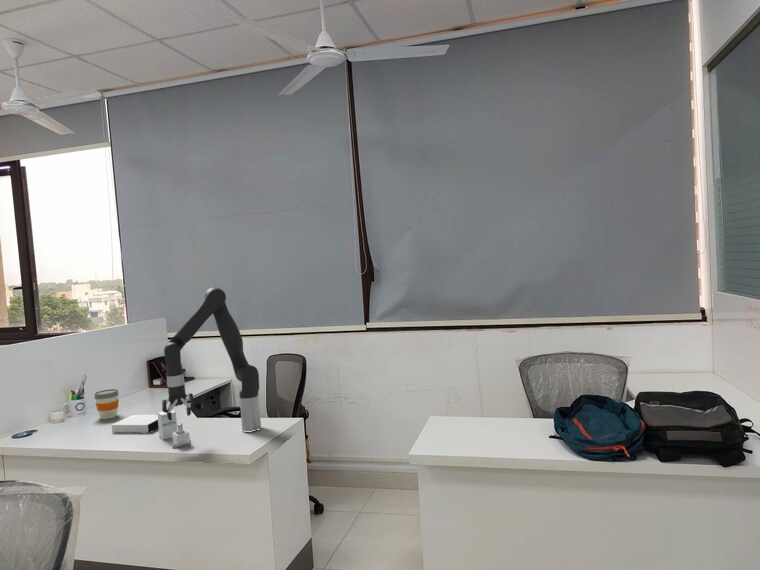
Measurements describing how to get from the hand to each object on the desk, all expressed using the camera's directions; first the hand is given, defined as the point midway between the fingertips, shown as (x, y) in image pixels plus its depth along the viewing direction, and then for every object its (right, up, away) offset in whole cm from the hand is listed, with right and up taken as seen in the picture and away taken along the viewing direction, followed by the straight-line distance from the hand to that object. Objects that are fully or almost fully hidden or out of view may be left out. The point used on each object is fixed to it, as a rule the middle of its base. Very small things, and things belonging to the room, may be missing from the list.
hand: (179, 417), depth 249 cm
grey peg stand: (+1, -13, 0) cm, 13 cm away
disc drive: (-33, -14, +33) cm, 49 cm away
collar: (+1, -12, 0) cm, 12 cm away
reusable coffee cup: (-64, -15, +59) cm, 89 cm away
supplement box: (-11, -13, +14) cm, 22 cm away
